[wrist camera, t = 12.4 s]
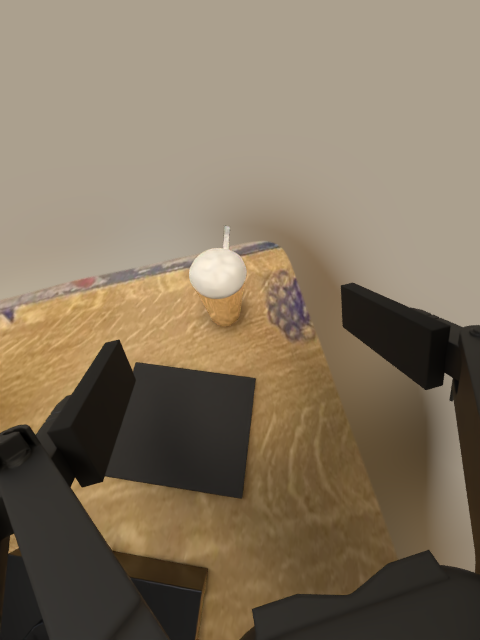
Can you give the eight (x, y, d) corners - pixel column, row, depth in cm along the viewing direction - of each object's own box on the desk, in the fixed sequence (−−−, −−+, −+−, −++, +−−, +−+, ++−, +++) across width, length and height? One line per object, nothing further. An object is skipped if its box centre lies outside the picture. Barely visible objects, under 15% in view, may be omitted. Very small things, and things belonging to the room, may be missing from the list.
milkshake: (252, 292, 30) (255, 231, 21) (239, 337, 28) (236, 291, 19) (213, 283, 31) (199, 219, 21) (198, 326, 29) (175, 277, 19)
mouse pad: (255, 378, 26) (255, 378, 26) (242, 497, 23) (242, 498, 22) (137, 363, 27) (135, 362, 27) (105, 475, 24) (103, 476, 23)
